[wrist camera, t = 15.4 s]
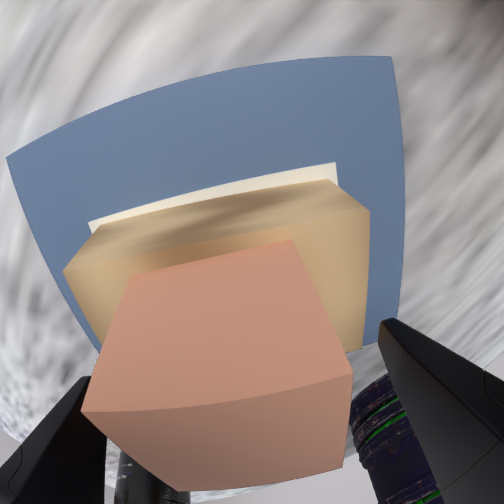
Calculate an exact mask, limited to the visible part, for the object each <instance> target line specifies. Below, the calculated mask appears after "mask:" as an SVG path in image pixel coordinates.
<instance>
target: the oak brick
mask: <svg viewBox="0 0 504 504" xmlns="http://www.w3.org/2000/svg"><path fill="white" fill-rule="evenodd" d="M290 239H291V240H292V242H293V244H294V246H295V248H296V250H297V252H298V254H299V256H300V258H301V260H302V262H303V264H304V266H305V268H306V270H307V273H308V275H309V277H310V279H311V281H312V283H313V285H314V287H315V289H316V291H317V293H318V296H319V298H320V300H321V302H322V304H323V306H324V308H325V310H326V313H327V315H328V317H329V319H330V321H331V323H332V326H333V328H334V330H335V332H336V334H337V336H338V339H339V341H340V343H341V345H342V348H343V350H344V352H345V353H348V352H351V351H355V350H358V349H362V343H363V334H364V324H365V314H366V302H367V288H368V271H369V244H370V211H369V210H368V209H366V208H365V207H364V206H363V205H362V204H360V203H359V202H358V201H356V200H355V199H354V198H353V197H351V196H350V195H349V194H348V193H346V192H345V191H344V190H342V189H341V188H340V187H338V186H337V185H336V184H334V183H333V182H332V181H330V180H329V179H322V180H315V181H308V182H302V183H296V184H289V185H283V186H277V187H272V188H266V189H260V190H255V191H249V192H244V193H238V194H233V195H228V196H223V197H218V198H213V199H208V200H203V201H198V202H194V203H189V204H184V205H180V206H175V207H171V208H166V209H162V210H158V211H153V212H149V213H145V214H141V215H137V216H133V217H129V218H125V219H121V220H117V221H113V222H109V223H105V224H101V225H100V226H99V227H98V228H97V229H96V230H95V232H94V233H93V234H92V235H91V236H90V237H89V239H88V240H87V241H86V242H85V243H84V245H83V246H82V247H81V248H80V249H79V251H78V252H77V253H76V254H75V256H74V257H73V258H72V259H71V261H70V262H69V263H68V265H67V266H66V267H65V268H64V270H63V271H62V272H63V274H64V276H65V278H66V280H67V282H68V285H69V287H70V289H71V291H72V293H73V295H74V297H75V298H76V300H77V302H78V304H79V306H80V308H81V310H82V312H83V314H84V315H85V317H86V319H87V321H88V323H89V324H90V326H91V328H92V330H93V331H94V333H95V335H96V336H97V338H98V340H99V341H100V343H101V345H102V346H103V343H104V340H105V338H106V335H107V333H108V330H109V327H110V325H111V322H112V320H113V317H114V315H115V312H116V310H117V307H118V305H119V303H120V300H121V298H122V295H123V293H124V291H125V288H126V286H127V284H128V282H129V279H130V277H131V276H132V275H136V274H140V273H145V272H149V271H153V270H158V269H162V268H167V267H171V266H175V265H180V264H184V263H189V262H193V261H197V260H202V259H206V258H211V257H215V256H219V255H224V254H228V253H233V252H237V251H242V250H246V249H250V248H255V247H259V246H264V245H268V244H273V243H277V242H282V241H286V240H290Z"/></svg>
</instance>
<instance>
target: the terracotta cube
mask: <svg viewBox="0 0 504 504" xmlns="http://www.w3.org/2000/svg"><path fill="white" fill-rule="evenodd" d="M352 385H353V370H352V368H351V366H350V363H349V361H348V359H347V356H346V354H345V352H344V350H343V348H342V345H341V343H340V341H339V339H338V336H337V334H336V332H335V330H334V328H333V326H332V323H331V321H330V319H329V317H328V315H327V313H326V310H325V308H324V306H323V304H322V302H321V300H320V298H319V296H318V293H317V291H316V289H315V287H314V285H313V283H312V281H311V279H310V277H309V275H308V273H307V270H306V268H305V266H304V264H303V262H302V260H301V258H300V256H299V254H298V252H297V250H296V248H295V246H294V244H293V242H292V240H291V239H290V240H286V241H282V242H277V243H273V244H268V245H264V246H259V247H255V248H250V249H246V250H242V251H237V252H233V253H228V254H224V255H219V256H215V257H211V258H206V259H202V260H197V261H193V262H189V263H184V264H180V265H175V266H171V267H167V268H162V269H158V270H153V271H149V272H145V273H140V274H136V275H132V276H131V277H130V279H129V282H128V284H127V286H126V288H125V291H124V293H123V295H122V298H121V300H120V303H119V305H118V307H117V310H116V312H115V315H114V317H113V320H112V322H111V325H110V327H109V330H108V333H107V335H106V338H105V340H104V343H103V346H102V348H101V351H100V354H99V357H98V360H97V362H96V365H95V368H94V371H93V374H92V377H91V380H90V383H89V386H88V389H87V392H86V395H85V399H84V402H83V405H82V409H81V412H82V413H83V414H84V415H85V416H86V417H87V418H88V419H89V420H90V421H91V422H92V423H93V424H94V425H95V426H96V427H97V428H98V429H99V430H100V431H101V432H102V433H103V434H105V435H106V436H107V437H108V438H109V439H110V440H111V441H112V442H113V443H115V444H116V445H117V446H118V447H119V448H120V449H122V450H123V451H124V452H125V453H126V454H128V455H129V456H130V457H131V458H133V459H134V460H135V461H136V462H138V463H139V464H140V465H141V466H143V467H144V468H145V469H147V470H148V471H149V472H151V473H152V474H153V475H155V476H156V477H158V478H159V479H160V480H162V481H163V482H165V483H166V484H168V485H169V486H171V487H172V488H174V489H175V490H177V491H210V490H224V489H235V488H244V487H252V486H260V485H266V484H273V483H278V482H284V481H289V480H294V479H299V478H303V477H307V476H312V475H316V474H320V473H324V472H328V471H332V470H335V469H339V468H342V466H343V460H344V454H345V447H346V440H347V432H348V424H349V416H350V407H351V396H352Z"/></svg>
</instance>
